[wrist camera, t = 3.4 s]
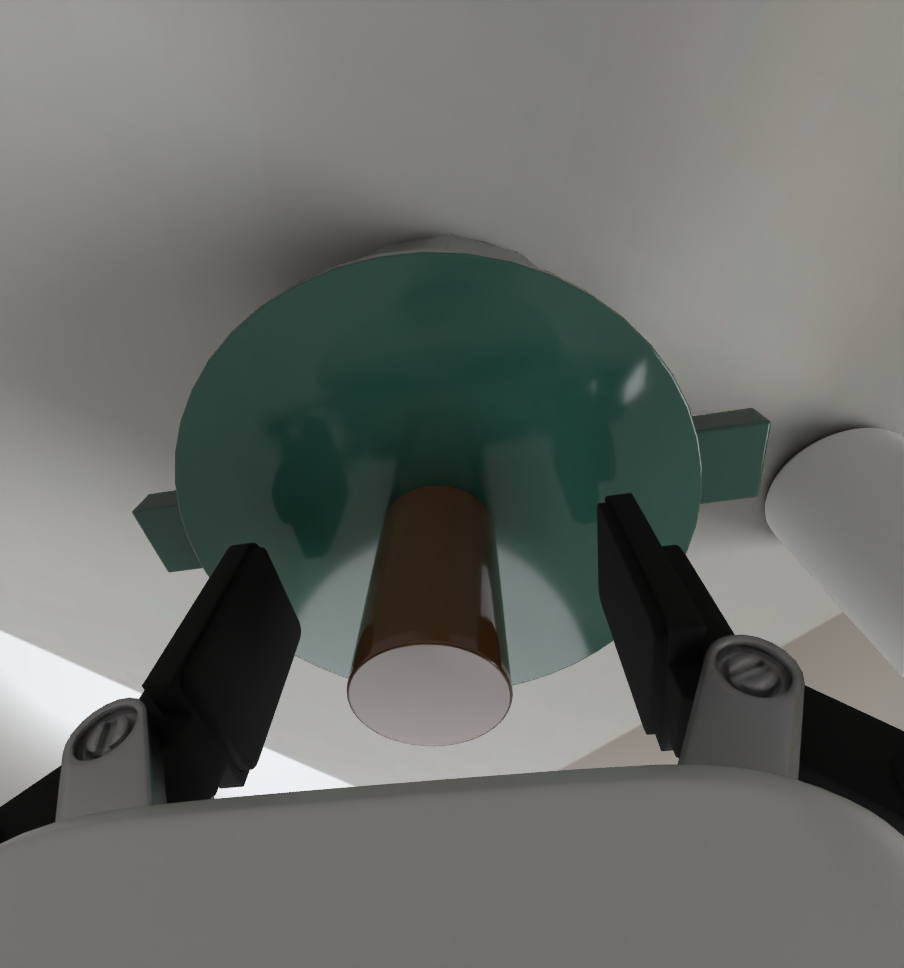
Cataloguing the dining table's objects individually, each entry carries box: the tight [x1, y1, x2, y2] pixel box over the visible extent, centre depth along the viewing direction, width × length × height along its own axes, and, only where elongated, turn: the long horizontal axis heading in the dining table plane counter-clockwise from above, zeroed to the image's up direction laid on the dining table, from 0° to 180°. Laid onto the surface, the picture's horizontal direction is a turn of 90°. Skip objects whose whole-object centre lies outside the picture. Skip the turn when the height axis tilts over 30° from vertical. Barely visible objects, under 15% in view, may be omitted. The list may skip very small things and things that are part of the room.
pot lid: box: [175, 249, 702, 746], centre depth 12 cm, size 14×14×6 cm
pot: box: [132, 234, 771, 572], centre depth 17 cm, size 13×18×8 cm
